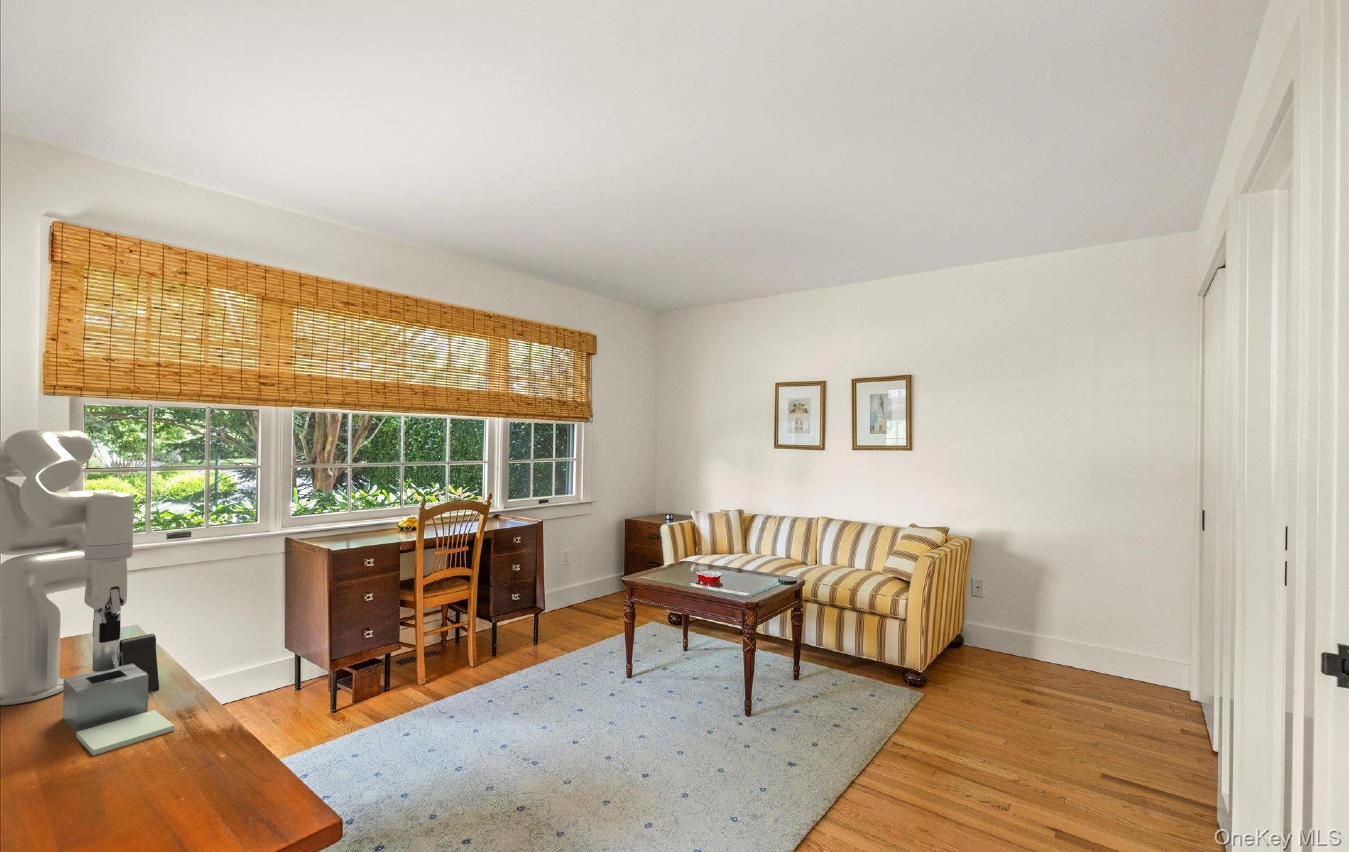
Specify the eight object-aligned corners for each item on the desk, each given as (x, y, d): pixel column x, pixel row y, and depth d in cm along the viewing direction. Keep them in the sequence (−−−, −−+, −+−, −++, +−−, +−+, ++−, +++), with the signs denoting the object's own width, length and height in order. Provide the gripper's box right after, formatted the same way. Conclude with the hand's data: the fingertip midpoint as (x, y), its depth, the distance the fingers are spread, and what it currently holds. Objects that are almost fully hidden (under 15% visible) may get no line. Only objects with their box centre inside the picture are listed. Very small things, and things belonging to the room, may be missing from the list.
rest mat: (76, 737, 119) (76, 731, 119) (154, 714, 129) (154, 709, 129) (93, 755, 113) (93, 750, 113) (174, 730, 122) (174, 725, 122)
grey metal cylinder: (89, 668, 129) (91, 611, 129) (115, 663, 132) (116, 607, 132) (95, 673, 127) (97, 614, 127) (120, 667, 130) (122, 610, 130)
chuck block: (62, 717, 128) (63, 679, 128) (131, 699, 137) (132, 663, 137) (76, 732, 121) (77, 691, 121) (147, 712, 130) (148, 674, 130)
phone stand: (114, 688, 143) (115, 636, 143) (147, 680, 147) (148, 630, 148) (125, 698, 137) (126, 644, 138) (159, 689, 142) (160, 637, 142)
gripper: (74, 549, 131) (71, 635, 131) (96, 559, 122) (93, 652, 122) (120, 544, 138) (117, 626, 137) (144, 553, 128) (141, 642, 128)
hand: (106, 637), depth 129 cm, fingers closed on grey metal cylinder, 4 cm apart
